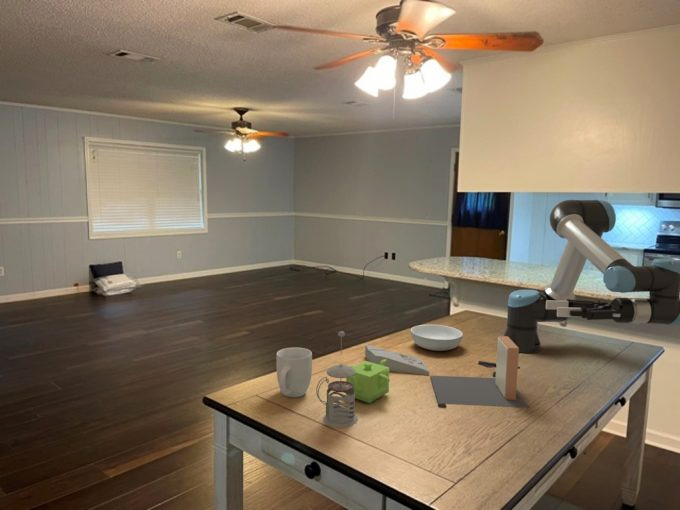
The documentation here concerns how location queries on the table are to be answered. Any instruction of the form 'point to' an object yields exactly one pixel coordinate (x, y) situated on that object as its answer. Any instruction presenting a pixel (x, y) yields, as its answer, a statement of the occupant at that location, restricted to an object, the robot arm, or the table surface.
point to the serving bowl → (436, 337)
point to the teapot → (370, 381)
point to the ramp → (396, 360)
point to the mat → (471, 392)
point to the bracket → (489, 366)
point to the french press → (335, 412)
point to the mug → (294, 371)
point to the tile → (507, 367)
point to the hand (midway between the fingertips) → (551, 308)
